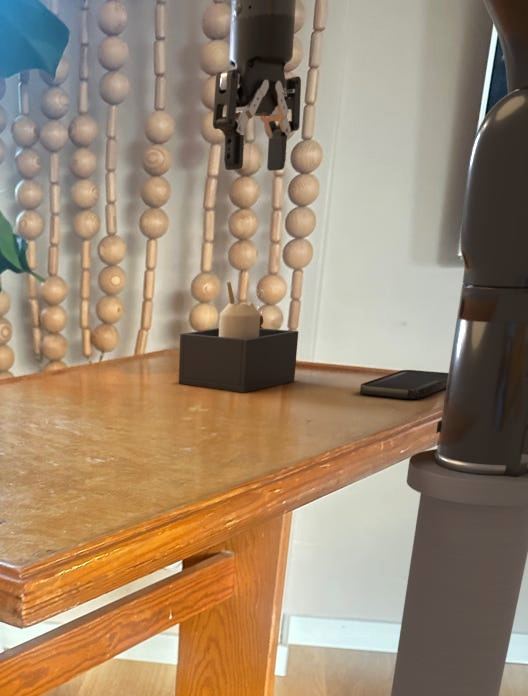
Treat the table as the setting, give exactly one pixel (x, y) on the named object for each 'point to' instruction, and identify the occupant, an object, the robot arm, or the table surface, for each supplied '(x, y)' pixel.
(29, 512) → the table surface
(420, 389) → the phone
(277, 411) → the table surface
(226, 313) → the candle
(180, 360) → the bin
